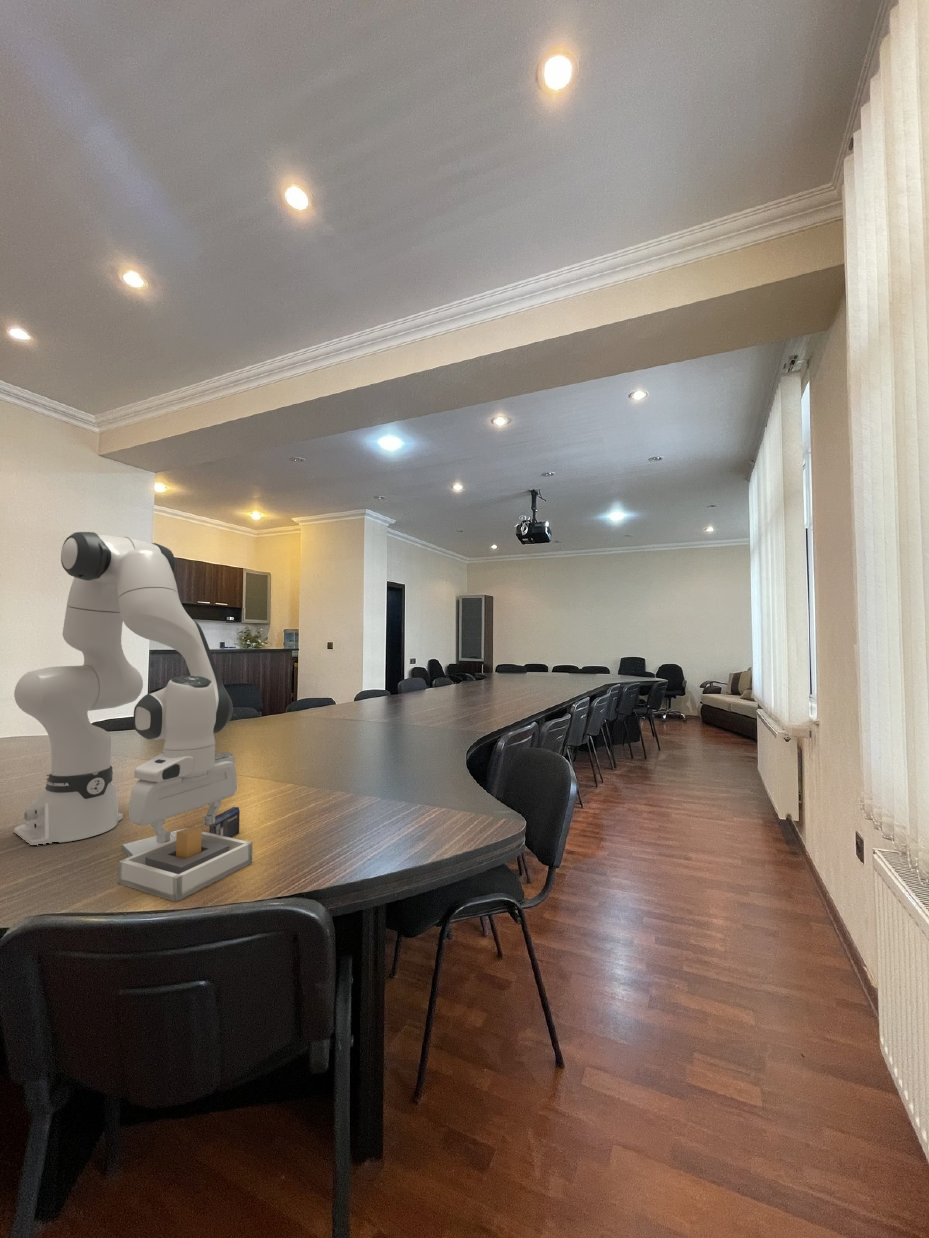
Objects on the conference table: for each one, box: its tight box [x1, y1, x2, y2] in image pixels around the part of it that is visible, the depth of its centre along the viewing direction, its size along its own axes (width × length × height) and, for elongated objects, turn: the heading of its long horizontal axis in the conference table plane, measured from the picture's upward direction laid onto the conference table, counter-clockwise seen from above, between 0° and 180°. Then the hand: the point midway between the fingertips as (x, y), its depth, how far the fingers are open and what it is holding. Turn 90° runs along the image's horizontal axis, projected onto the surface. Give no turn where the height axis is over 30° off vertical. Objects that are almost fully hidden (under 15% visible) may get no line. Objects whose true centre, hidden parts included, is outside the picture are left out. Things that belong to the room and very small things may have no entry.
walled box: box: [117, 831, 253, 903], centre depth 93 cm, size 16×16×4 cm
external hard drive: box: [121, 827, 187, 858], centre depth 106 cm, size 2×8×12 cm
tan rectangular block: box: [176, 826, 203, 859], centre depth 93 cm, size 3×3×7 cm
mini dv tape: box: [208, 806, 241, 838], centre depth 109 cm, size 8×2×6 cm, turn 170°
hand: (187, 832), depth 94 cm, fingers open, 8 cm apart
